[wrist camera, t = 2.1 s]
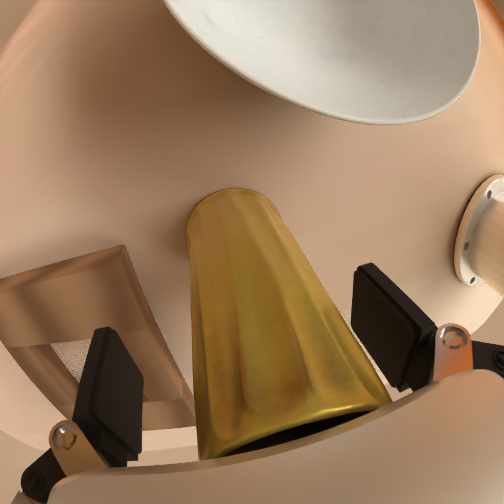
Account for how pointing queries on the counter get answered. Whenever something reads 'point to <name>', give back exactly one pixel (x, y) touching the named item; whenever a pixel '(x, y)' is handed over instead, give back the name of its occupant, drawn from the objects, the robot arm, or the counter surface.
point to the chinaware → (344, 52)
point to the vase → (266, 334)
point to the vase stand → (91, 331)
